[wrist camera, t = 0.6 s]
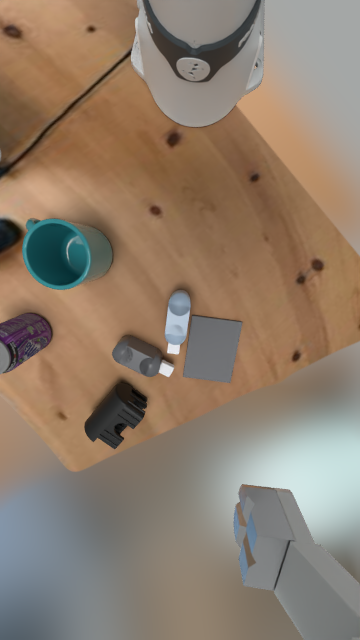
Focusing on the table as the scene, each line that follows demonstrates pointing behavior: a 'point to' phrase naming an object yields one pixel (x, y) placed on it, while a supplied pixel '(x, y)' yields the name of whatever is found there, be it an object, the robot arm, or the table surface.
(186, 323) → the blue connector
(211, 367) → the pad
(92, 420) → the end cap
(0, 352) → the beverage can
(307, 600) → the robot arm
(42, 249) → the cup
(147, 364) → the dark gray connector
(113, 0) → the table surface
